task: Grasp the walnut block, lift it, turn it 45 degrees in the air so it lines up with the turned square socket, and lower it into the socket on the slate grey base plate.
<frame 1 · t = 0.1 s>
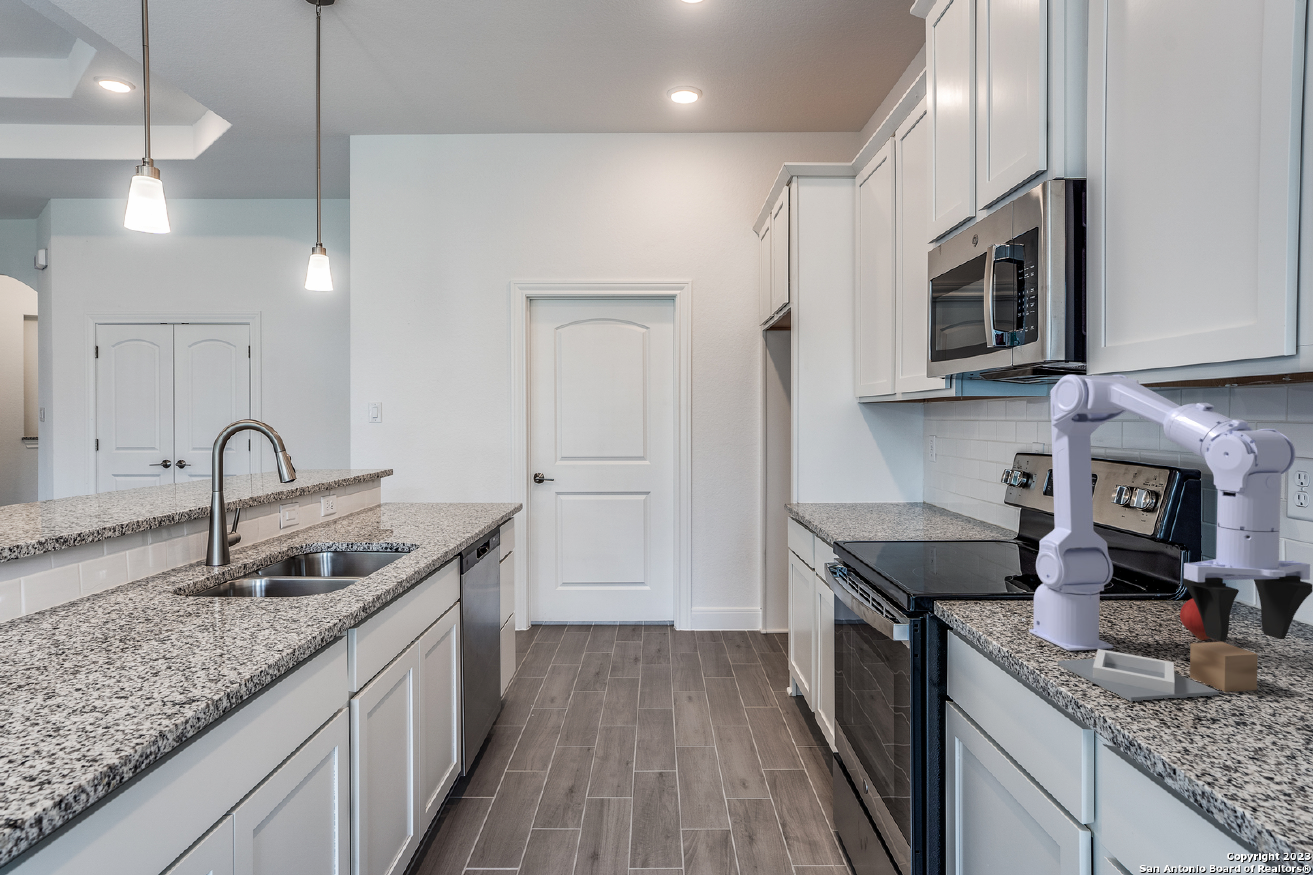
hand: (1245, 637, 81), 10 cm above the table, tool pointing down, fingers open, 7 cm apart
base plate: (1133, 679, 93), on the table
onion: (1202, 640, 109), on the table
block: (1222, 684, 91), on the table
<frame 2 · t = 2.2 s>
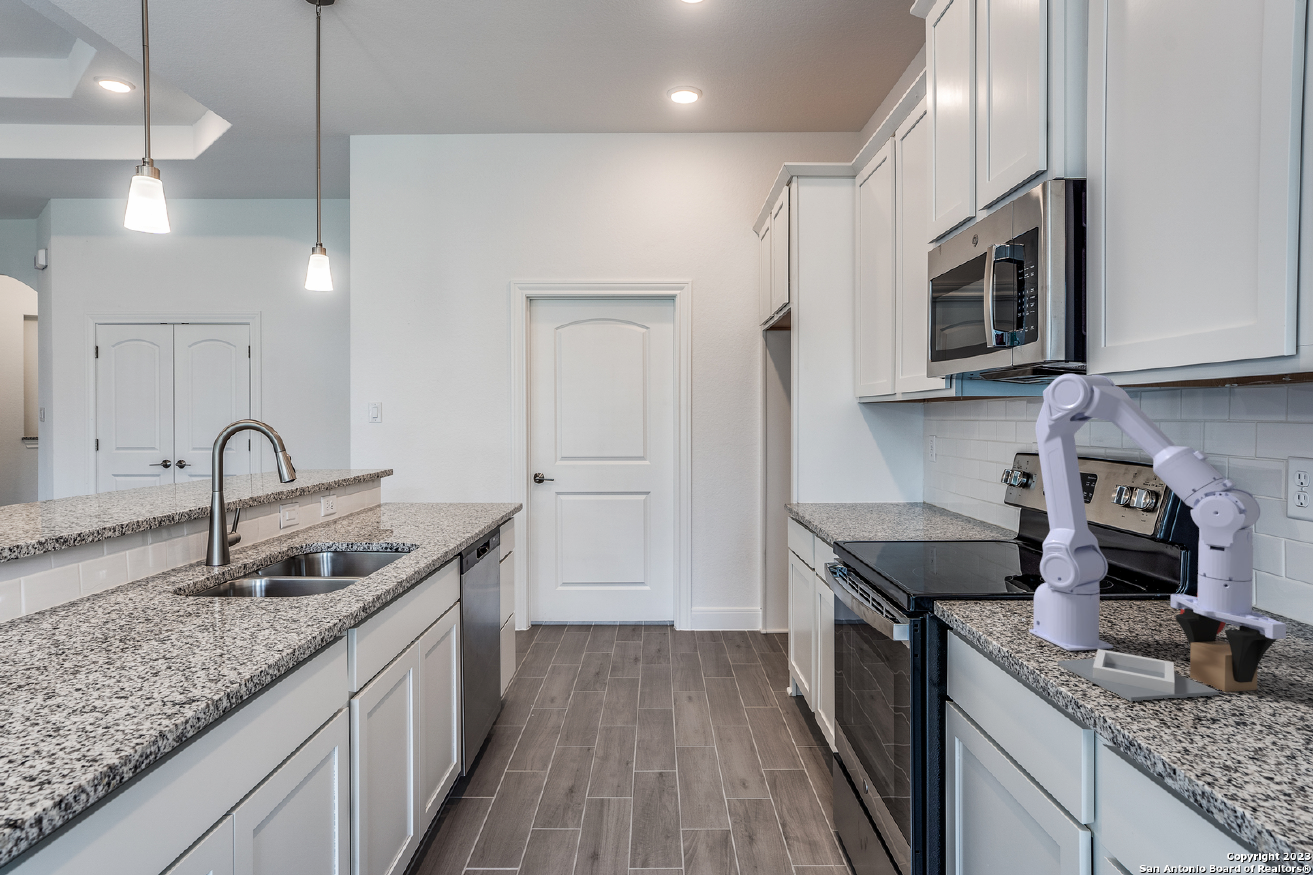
hand: (1222, 673, 91), 1 cm above the table, tool pointing down, fingers closed on block, 5 cm apart
block: (1222, 683, 91), on the table, touching gripper
everything else where it was.
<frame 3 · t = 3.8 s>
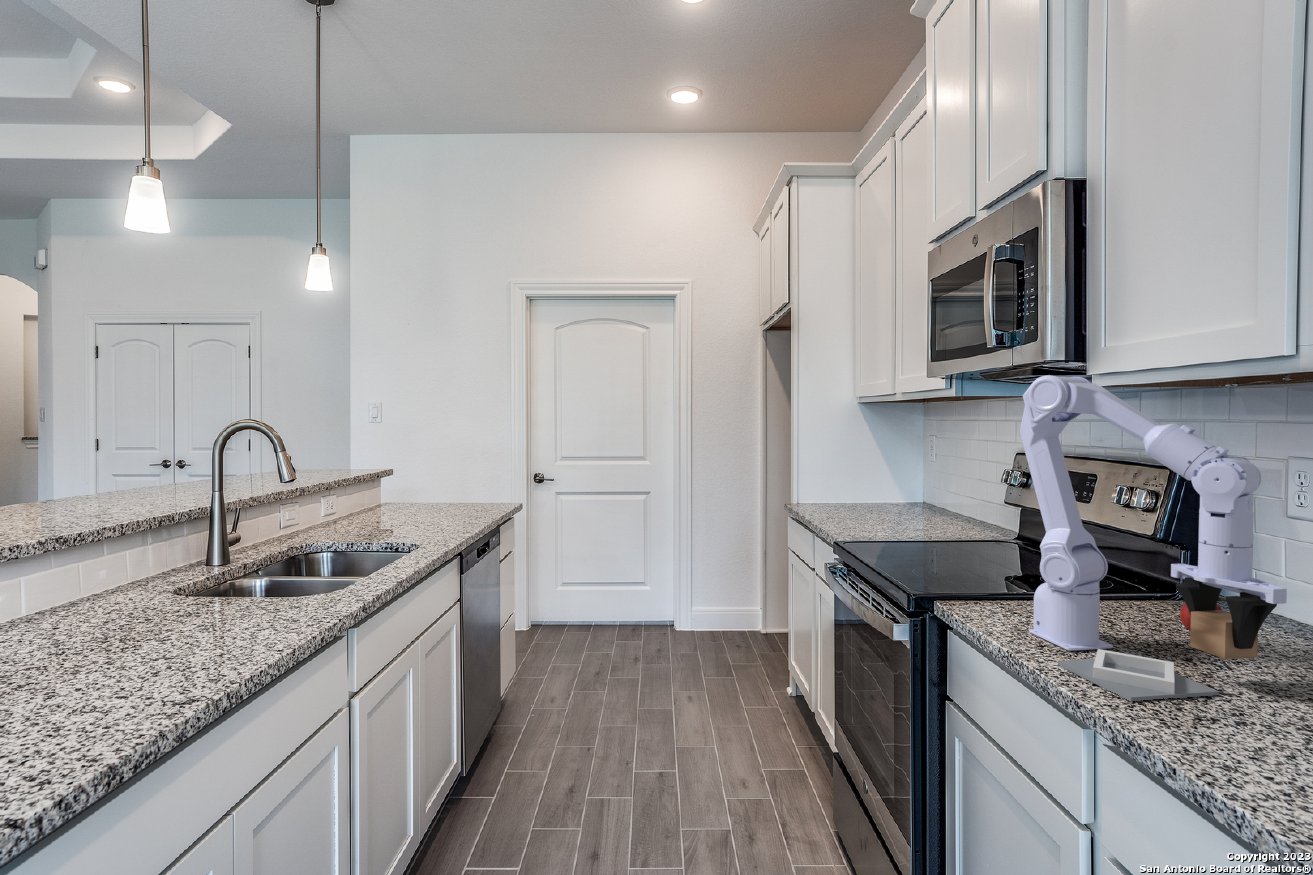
hand: (1222, 640, 91), 6 cm above the table, tool pointing down, fingers closed on block, 5 cm apart
block: (1222, 651, 91), point 4 cm above the table, touching gripper
everything else where it was.
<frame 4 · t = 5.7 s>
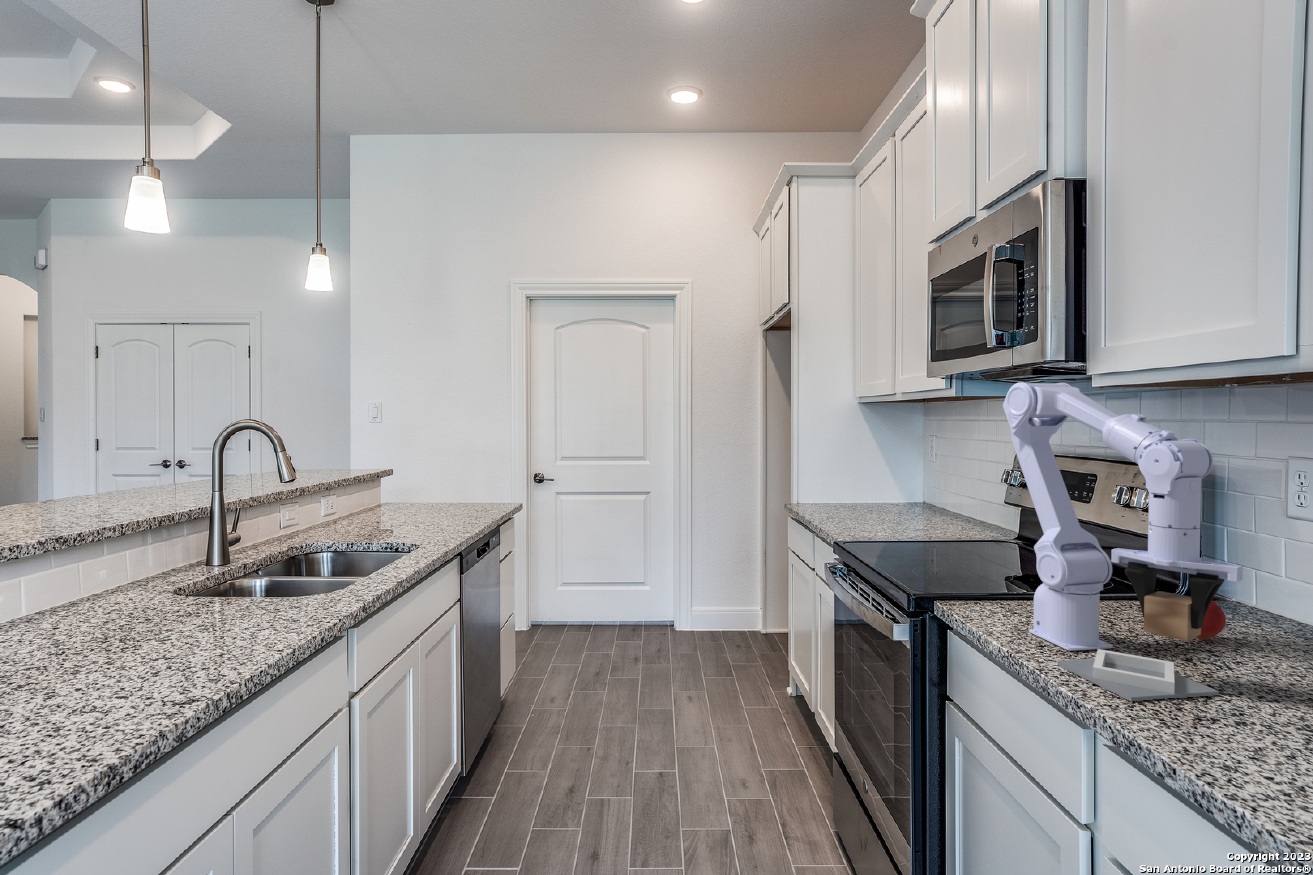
hand: (1172, 621, 92), 8 cm above the table, tool pointing down, fingers closed on block, 5 cm apart
block: (1172, 632, 92), point 7 cm above the table, touching gripper
everything else where it was.
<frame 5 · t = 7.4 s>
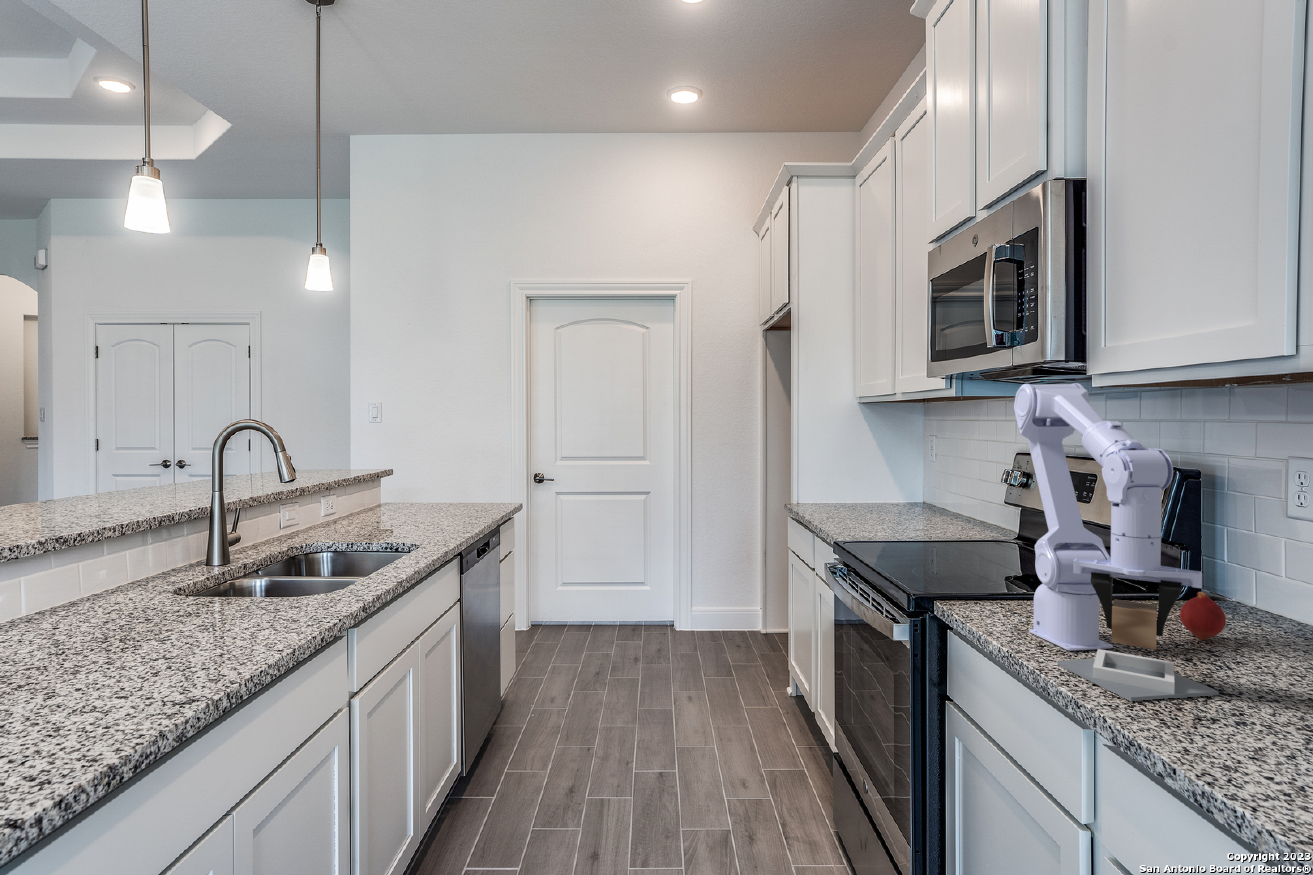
hand: (1134, 630, 93), 7 cm above the table, tool pointing down, fingers closed on block, 5 cm apart
block: (1134, 640, 93), point 6 cm above the table, touching gripper
everything else where it was.
when the fingers open (3 cm above the table, at t = 9.2 s): block stays where it is, resting on base plate.
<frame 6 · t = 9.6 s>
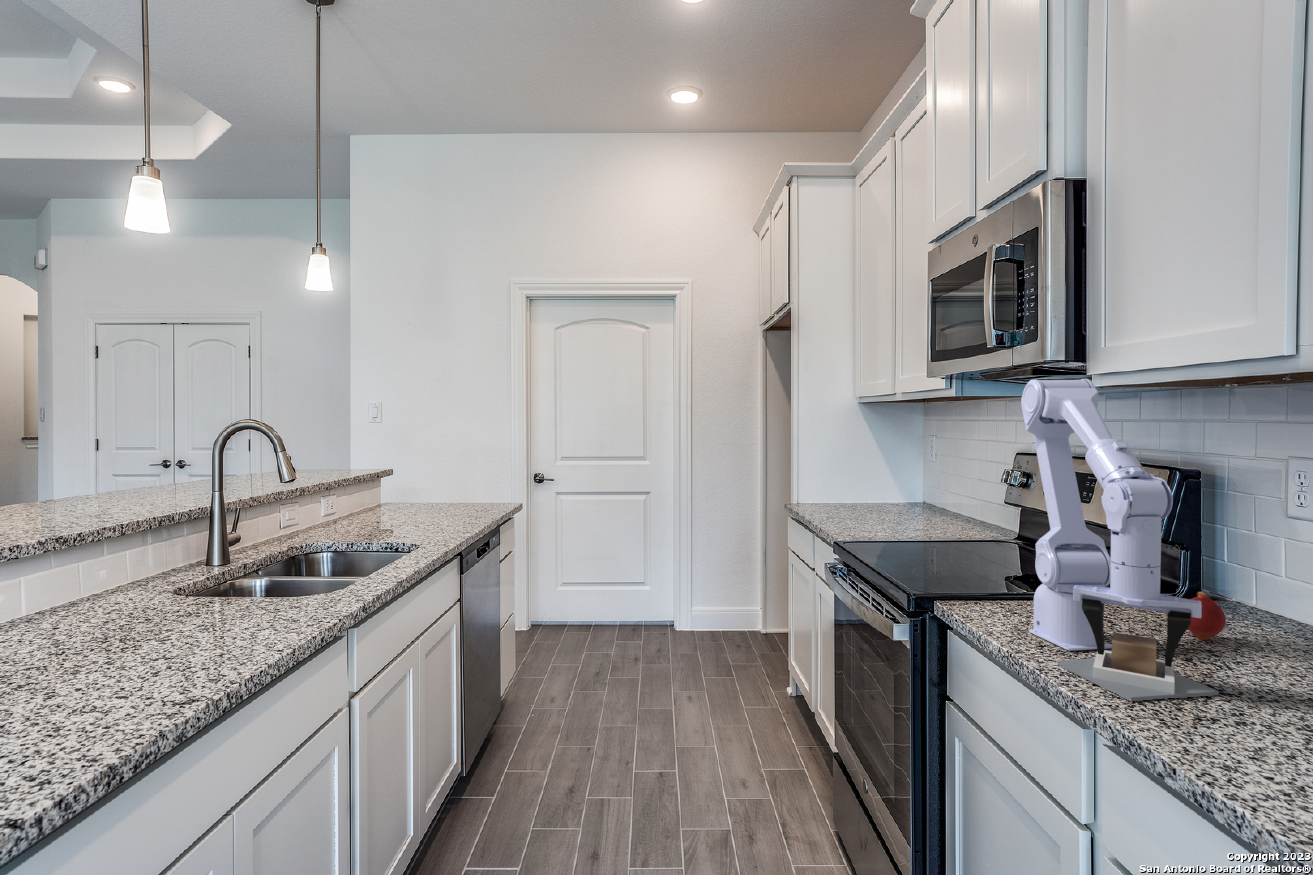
hand: (1133, 658, 93), 3 cm above the table, tool pointing down, fingers open, 7 cm apart
block: (1133, 674, 93), point 1 cm above the table, touching base plate
everything else where it was.
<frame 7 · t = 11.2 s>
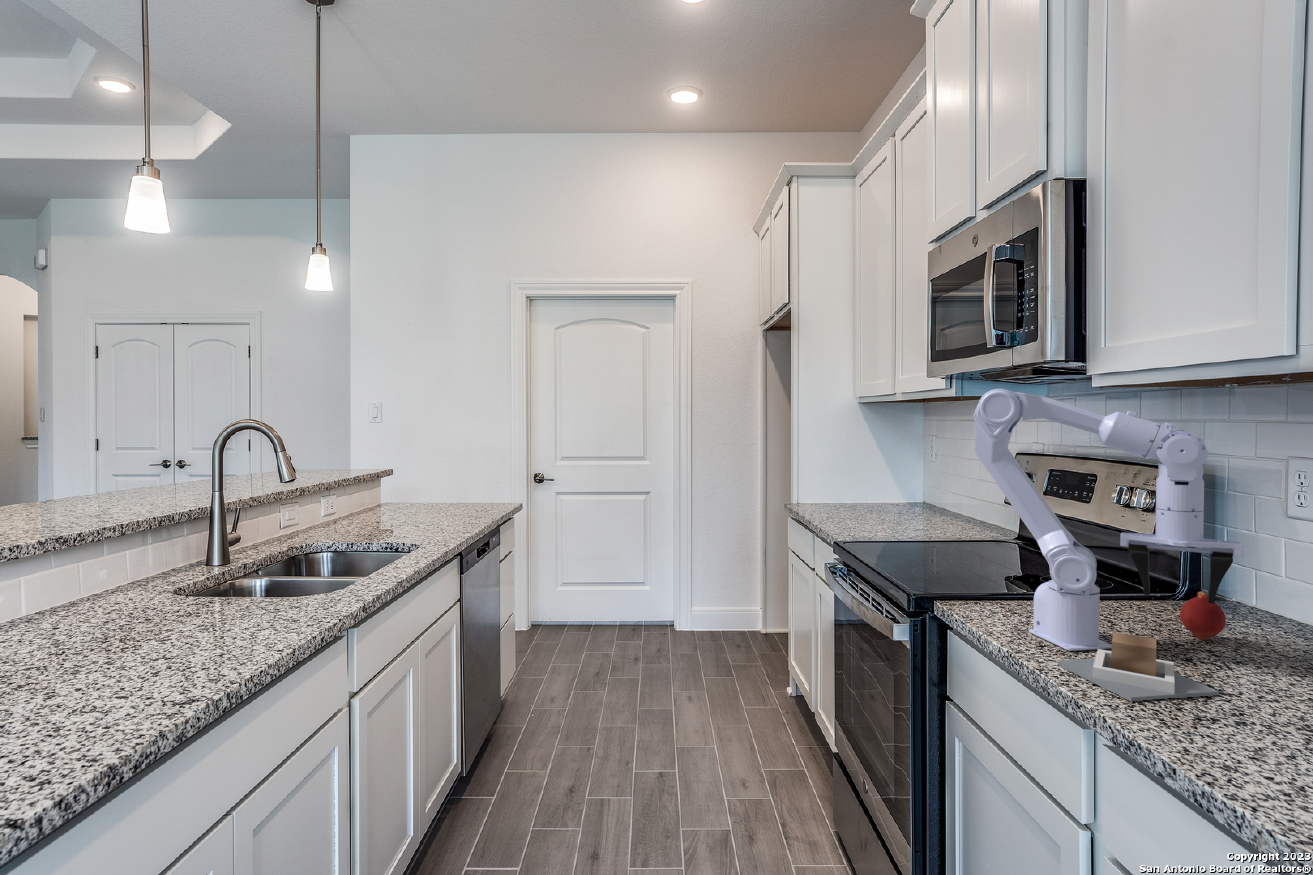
hand: (1178, 597, 100), 9 cm above the table, tool pointing down, fingers open, 7 cm apart
nothing on the table moved.
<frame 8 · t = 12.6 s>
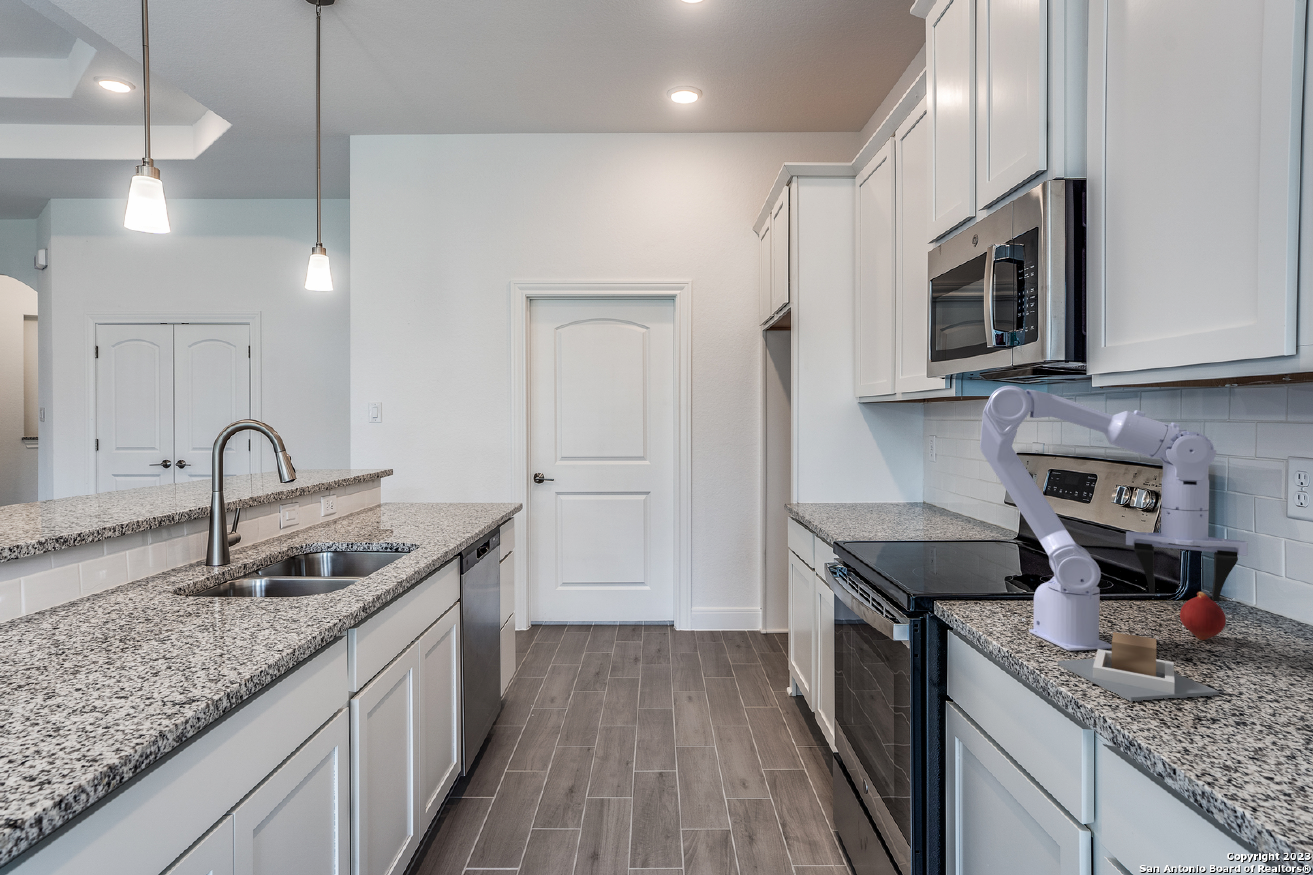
hand: (1183, 595, 101), 9 cm above the table, tool pointing down, fingers open, 7 cm apart
nothing on the table moved.
at the end: block 0.0 cm off-centre on the base plate, point 0.6 cm above the base plate's base; block tilted 0°; the gripper is holding nothing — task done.
